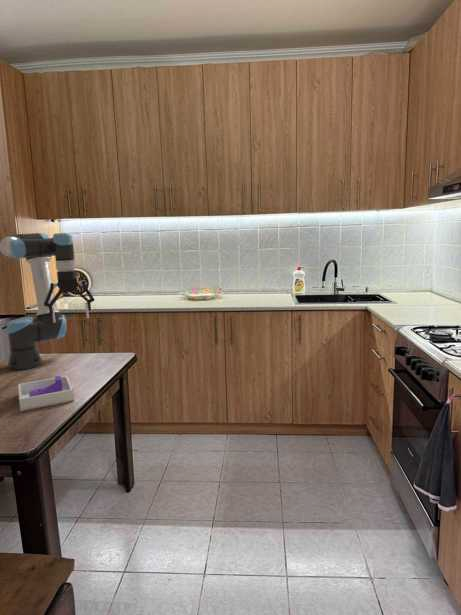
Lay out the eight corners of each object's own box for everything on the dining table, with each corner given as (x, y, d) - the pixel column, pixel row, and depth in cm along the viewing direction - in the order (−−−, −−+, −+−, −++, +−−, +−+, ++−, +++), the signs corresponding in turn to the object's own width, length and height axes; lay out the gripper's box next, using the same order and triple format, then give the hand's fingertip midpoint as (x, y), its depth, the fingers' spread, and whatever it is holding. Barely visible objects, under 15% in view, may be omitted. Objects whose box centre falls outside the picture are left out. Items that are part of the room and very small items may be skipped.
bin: (19, 394, 178) (18, 384, 178) (68, 386, 186) (67, 375, 185) (20, 411, 162) (19, 399, 161) (74, 401, 170) (72, 389, 169)
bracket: (62, 390, 180) (60, 374, 178) (63, 396, 174) (61, 379, 172) (29, 396, 175) (27, 379, 174) (29, 402, 169) (27, 385, 167)
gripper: (34, 273, 177) (40, 325, 181) (98, 268, 187) (102, 317, 191) (33, 272, 183) (39, 322, 187) (95, 267, 194) (99, 314, 198)
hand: (71, 320), depth 189 cm, fingers open, 13 cm apart
